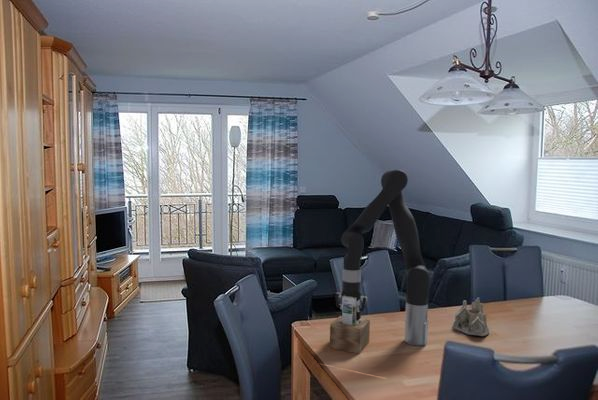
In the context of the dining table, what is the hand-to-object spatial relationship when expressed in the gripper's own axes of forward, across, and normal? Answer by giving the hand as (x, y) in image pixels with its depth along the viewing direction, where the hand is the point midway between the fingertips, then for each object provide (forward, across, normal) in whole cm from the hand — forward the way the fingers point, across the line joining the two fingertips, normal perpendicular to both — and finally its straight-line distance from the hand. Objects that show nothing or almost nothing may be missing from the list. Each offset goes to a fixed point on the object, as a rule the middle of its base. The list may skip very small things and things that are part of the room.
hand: (350, 318), depth 189 cm
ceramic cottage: (+12, -44, -42) cm, 62 cm away
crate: (+11, 0, 0) cm, 11 cm away
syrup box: (+5, 0, 0) cm, 5 cm away
